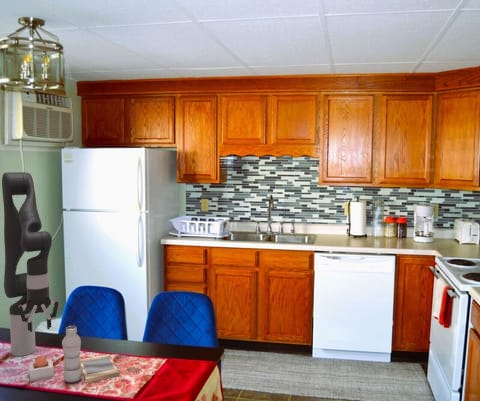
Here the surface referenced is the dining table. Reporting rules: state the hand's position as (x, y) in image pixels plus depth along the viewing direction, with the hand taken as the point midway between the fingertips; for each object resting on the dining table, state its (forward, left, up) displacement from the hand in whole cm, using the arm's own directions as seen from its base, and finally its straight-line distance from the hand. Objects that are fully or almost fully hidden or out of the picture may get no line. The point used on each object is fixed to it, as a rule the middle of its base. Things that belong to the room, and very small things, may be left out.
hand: (39, 329), depth 176 cm
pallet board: (+5, +20, -17) cm, 27 cm away
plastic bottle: (+10, +10, -18) cm, 23 cm away
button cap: (0, 0, -15) cm, 15 cm away
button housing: (0, 0, -17) cm, 17 cm away
